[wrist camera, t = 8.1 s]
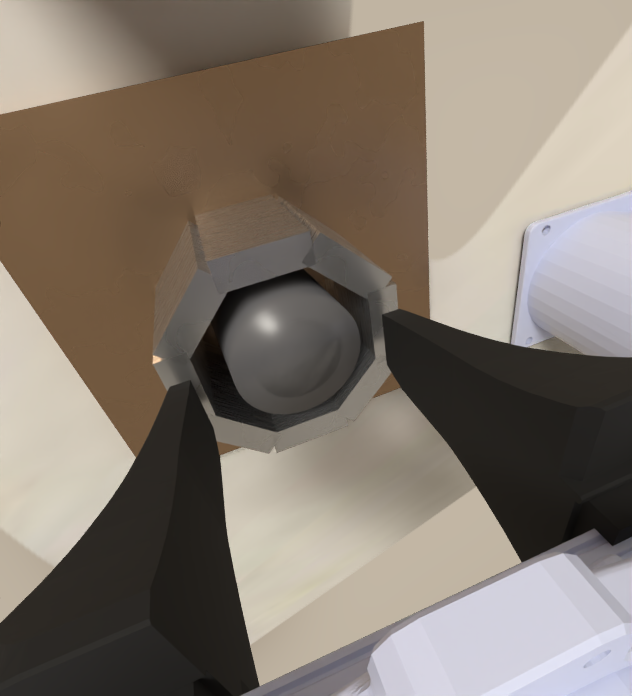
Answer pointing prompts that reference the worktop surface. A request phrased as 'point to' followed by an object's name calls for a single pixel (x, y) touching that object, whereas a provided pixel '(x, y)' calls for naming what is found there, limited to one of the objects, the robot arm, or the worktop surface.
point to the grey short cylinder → (286, 342)
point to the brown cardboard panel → (222, 221)
